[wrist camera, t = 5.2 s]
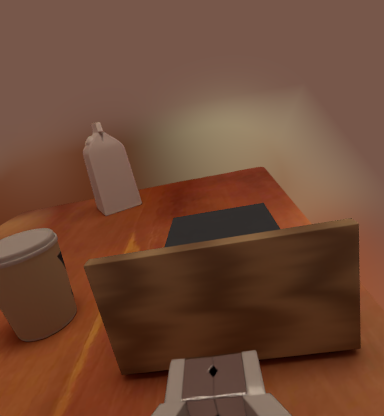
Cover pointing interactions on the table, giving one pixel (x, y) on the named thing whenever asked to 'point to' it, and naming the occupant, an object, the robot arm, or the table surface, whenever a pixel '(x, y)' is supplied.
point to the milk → (109, 172)
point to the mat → (220, 224)
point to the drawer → (232, 296)
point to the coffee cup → (34, 285)
